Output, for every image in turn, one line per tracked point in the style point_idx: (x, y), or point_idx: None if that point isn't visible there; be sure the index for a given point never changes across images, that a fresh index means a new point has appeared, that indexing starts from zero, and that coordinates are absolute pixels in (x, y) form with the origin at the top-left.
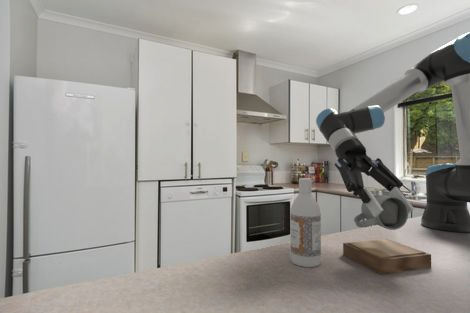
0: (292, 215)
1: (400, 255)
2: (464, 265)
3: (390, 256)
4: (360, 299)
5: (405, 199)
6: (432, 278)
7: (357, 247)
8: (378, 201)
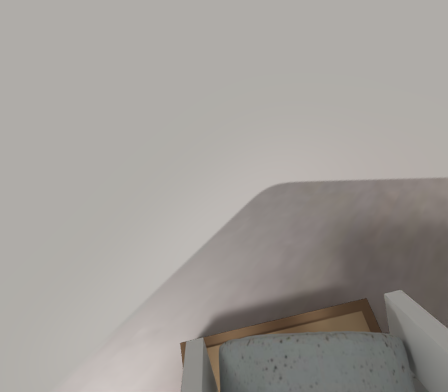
0: None
1: (287, 328)
2: (82, 362)
3: (324, 319)
4: (440, 201)
5: (192, 389)
6: (237, 284)
7: None
8: (399, 365)
